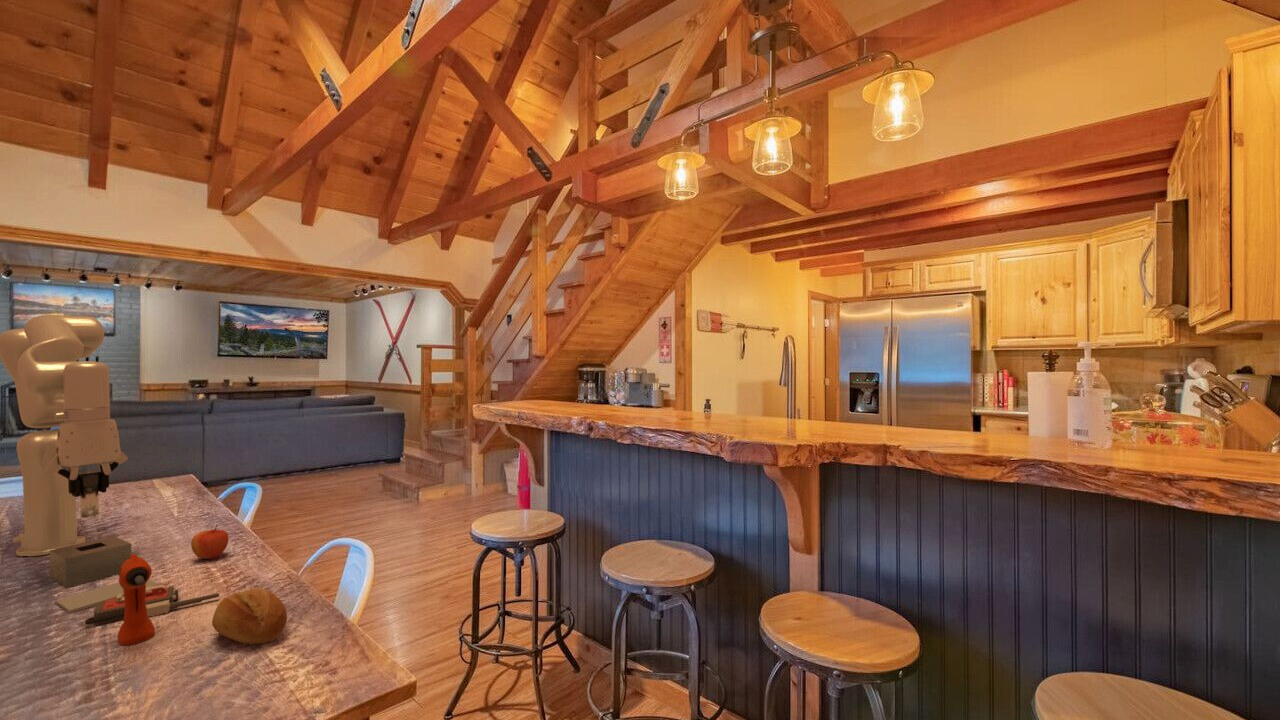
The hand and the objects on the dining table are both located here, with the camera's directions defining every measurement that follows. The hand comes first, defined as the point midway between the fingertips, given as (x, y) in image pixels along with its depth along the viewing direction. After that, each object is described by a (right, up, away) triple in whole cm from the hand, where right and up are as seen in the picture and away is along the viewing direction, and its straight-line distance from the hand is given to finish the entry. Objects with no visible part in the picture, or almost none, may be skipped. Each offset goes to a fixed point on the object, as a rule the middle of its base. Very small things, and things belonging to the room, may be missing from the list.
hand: (89, 493), depth 128 cm
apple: (+21, -19, +10) cm, 30 cm away
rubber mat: (+15, -19, -11) cm, 27 cm away
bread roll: (+58, -19, -29) cm, 68 cm away
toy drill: (+40, -19, -31) cm, 55 cm away
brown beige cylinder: (0, -5, 0) cm, 5 cm away
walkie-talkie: (+31, -20, -17) cm, 41 cm away
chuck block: (0, -19, 0) cm, 19 cm away
